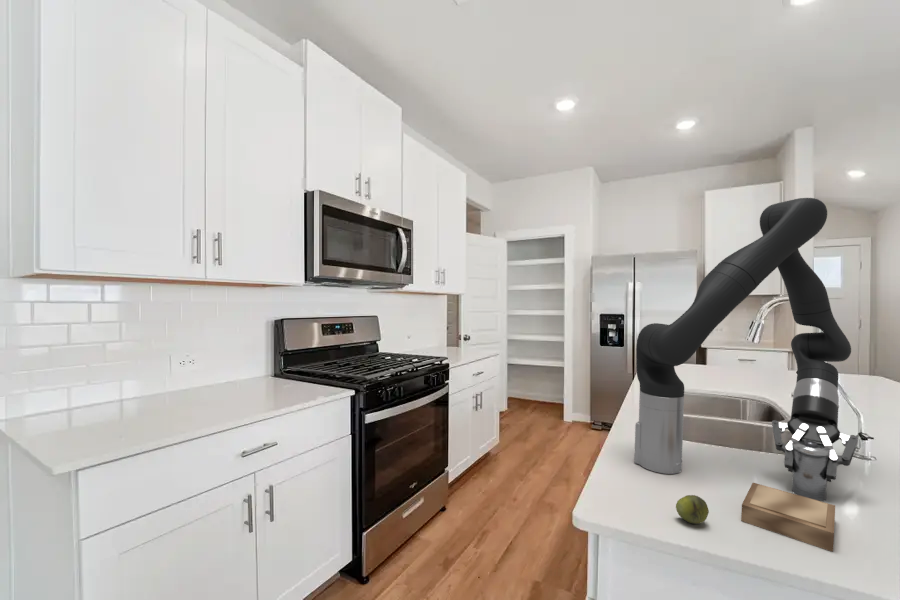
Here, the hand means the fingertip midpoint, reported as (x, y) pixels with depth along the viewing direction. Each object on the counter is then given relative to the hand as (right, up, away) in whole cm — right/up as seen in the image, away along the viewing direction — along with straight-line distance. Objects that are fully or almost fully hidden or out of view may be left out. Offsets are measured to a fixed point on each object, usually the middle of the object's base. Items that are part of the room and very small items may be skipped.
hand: (809, 474), depth 82 cm
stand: (-11, -5, -9) cm, 15 cm away
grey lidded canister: (+1, -5, +1) cm, 5 cm away
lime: (-29, -5, -10) cm, 31 cm away
